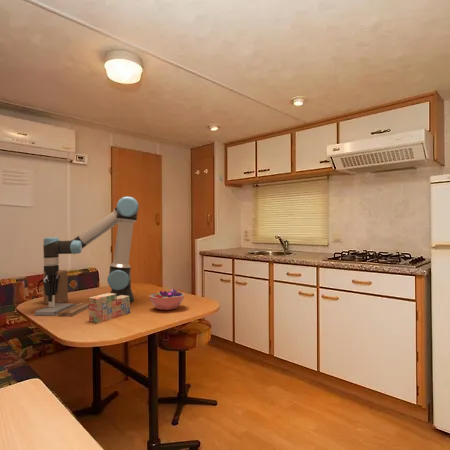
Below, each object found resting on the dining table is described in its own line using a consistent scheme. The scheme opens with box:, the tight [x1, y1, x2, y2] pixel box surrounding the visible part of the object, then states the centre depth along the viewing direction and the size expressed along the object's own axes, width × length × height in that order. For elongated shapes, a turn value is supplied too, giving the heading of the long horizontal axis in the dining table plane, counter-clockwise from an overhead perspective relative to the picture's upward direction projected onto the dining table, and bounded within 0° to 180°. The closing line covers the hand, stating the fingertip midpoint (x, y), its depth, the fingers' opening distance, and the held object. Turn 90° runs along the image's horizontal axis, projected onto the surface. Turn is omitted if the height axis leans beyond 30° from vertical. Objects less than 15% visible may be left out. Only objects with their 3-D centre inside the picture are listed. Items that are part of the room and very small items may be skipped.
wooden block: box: [42, 269, 69, 306], centre depth 203 cm, size 10×10×20 cm
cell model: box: [148, 288, 186, 311], centre depth 185 cm, size 17×20×11 cm
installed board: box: [57, 302, 89, 318], centre depth 182 cm, size 8×20×2 cm, turn 175°
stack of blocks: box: [88, 292, 131, 324], centre depth 171 cm, size 21×6×12 cm, turn 149°
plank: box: [34, 302, 76, 317], centre depth 183 cm, size 12×18×2 cm, turn 175°
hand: (51, 306), depth 184 cm, fingers closed
